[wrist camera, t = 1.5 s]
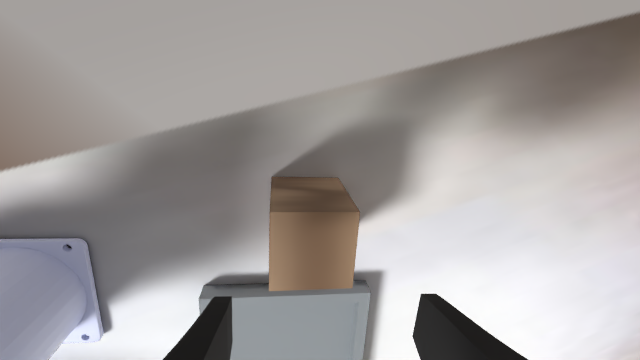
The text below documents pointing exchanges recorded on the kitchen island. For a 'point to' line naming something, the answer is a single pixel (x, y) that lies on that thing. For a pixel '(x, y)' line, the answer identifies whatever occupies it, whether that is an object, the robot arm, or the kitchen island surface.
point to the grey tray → (295, 321)
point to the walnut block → (311, 234)
